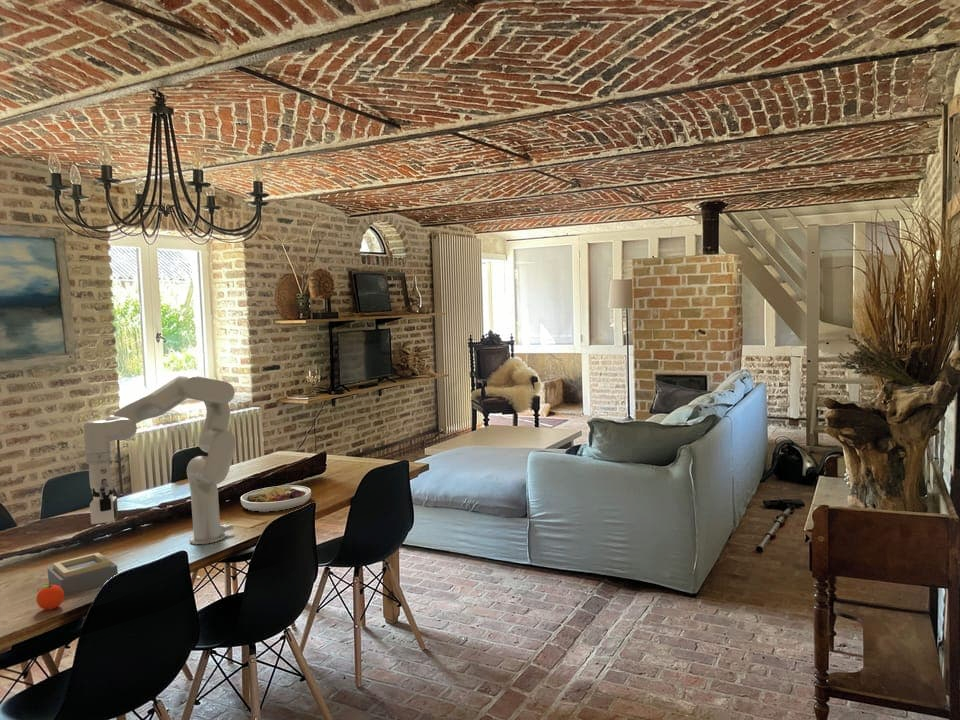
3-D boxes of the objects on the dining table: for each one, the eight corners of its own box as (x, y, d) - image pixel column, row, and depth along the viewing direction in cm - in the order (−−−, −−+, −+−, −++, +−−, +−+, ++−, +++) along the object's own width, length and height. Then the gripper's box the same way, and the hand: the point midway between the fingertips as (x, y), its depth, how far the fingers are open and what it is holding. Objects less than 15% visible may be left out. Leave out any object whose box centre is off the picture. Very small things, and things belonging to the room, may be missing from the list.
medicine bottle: (115, 521, 234) (112, 486, 234) (90, 524, 232) (88, 488, 232) (118, 516, 241) (116, 481, 241) (94, 519, 239) (92, 484, 238)
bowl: (226, 510, 306) (224, 493, 305) (275, 493, 332) (274, 477, 332) (278, 517, 292) (277, 498, 292) (325, 498, 319) (324, 481, 318)
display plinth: (103, 569, 237) (101, 550, 236) (118, 580, 225) (116, 560, 225) (48, 583, 226) (47, 563, 225) (61, 596, 214) (60, 575, 214)
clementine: (28, 613, 202) (26, 589, 202) (46, 603, 209) (44, 580, 209) (52, 614, 201) (50, 589, 200) (70, 604, 208) (68, 580, 207)
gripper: (118, 458, 231) (121, 510, 232) (103, 452, 244) (106, 501, 245) (93, 462, 226) (96, 515, 227) (79, 456, 239) (82, 506, 240)
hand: (101, 508), depth 236 cm, fingers closed on medicine bottle, 9 cm apart
